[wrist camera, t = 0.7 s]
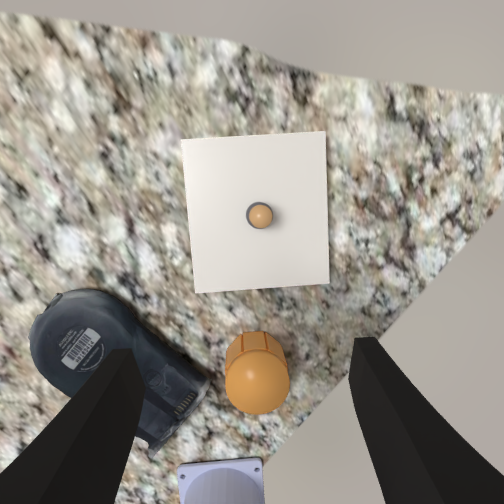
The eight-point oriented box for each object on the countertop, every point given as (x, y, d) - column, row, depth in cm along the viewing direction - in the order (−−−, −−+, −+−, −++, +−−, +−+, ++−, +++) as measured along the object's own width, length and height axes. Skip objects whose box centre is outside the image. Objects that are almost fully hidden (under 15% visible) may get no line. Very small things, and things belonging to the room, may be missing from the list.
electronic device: (219, 354, 32) (78, 263, 28) (217, 398, 27) (43, 294, 23) (162, 414, 34) (23, 338, 30) (150, 465, 29) (-20, 382, 25)
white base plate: (323, 277, 29) (340, 293, 24) (198, 286, 29) (190, 305, 24) (319, 136, 27) (337, 122, 22) (184, 143, 27) (173, 131, 22)
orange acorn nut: (283, 380, 31) (291, 411, 26) (229, 385, 31) (227, 417, 26) (280, 329, 30) (288, 352, 26) (225, 333, 30) (222, 357, 25)
